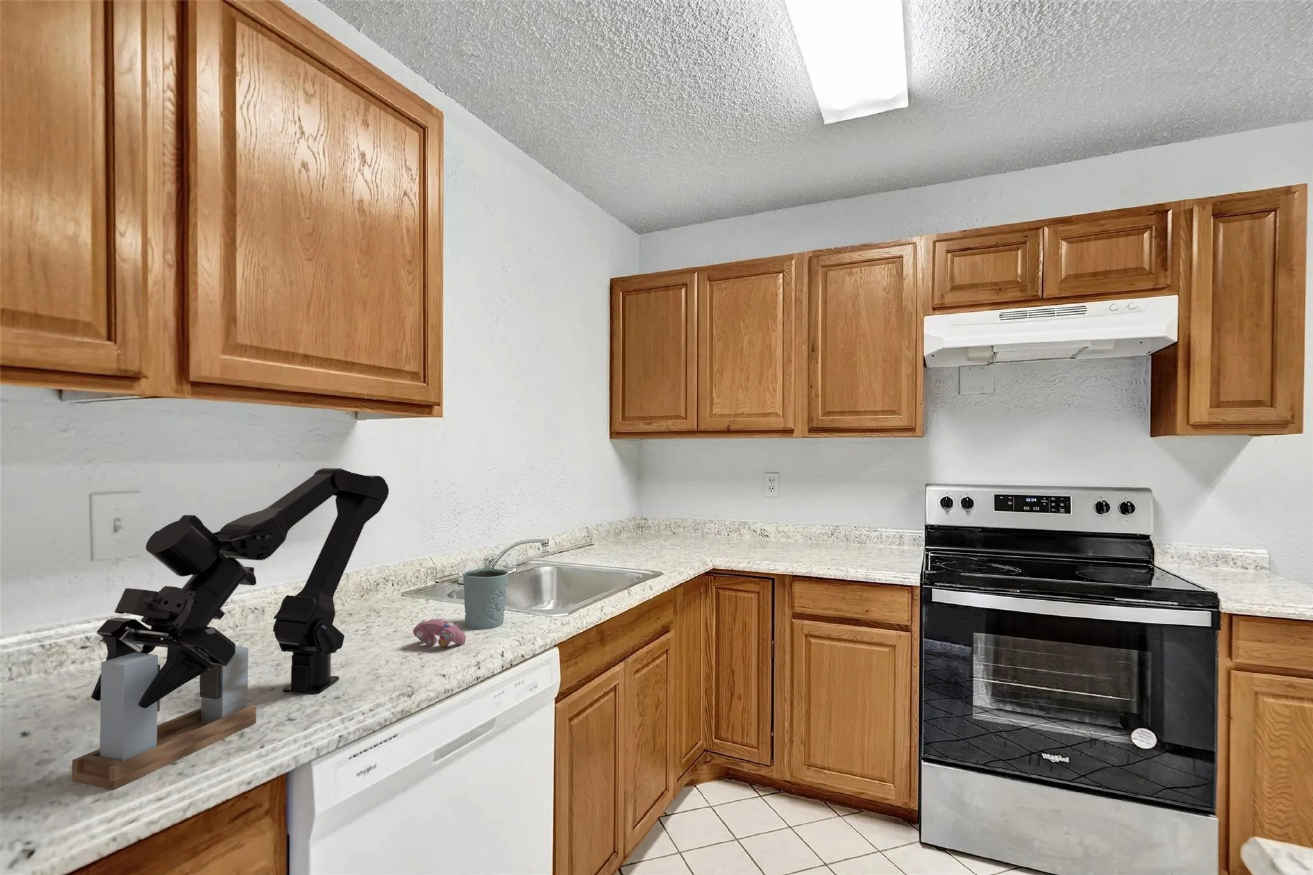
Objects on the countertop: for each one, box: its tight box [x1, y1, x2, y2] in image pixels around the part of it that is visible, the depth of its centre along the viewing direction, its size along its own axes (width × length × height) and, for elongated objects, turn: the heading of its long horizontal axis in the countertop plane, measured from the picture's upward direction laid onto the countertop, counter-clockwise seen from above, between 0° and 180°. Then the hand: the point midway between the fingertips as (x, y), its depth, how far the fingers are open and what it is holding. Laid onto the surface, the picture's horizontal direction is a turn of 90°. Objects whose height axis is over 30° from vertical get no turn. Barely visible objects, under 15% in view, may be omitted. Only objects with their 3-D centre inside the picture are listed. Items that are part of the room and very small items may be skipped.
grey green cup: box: [462, 568, 509, 630], centre depth 146 cm, size 10×10×12 cm
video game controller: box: [412, 618, 467, 648], centre depth 130 cm, size 10×5×7 cm, turn 77°
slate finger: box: [99, 652, 161, 761], centre depth 80 cm, size 5×4×13 cm
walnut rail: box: [71, 645, 257, 791], centre depth 85 cm, size 19×7×11 cm, turn 164°
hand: (117, 703), depth 79 cm, fingers open, 8 cm apart
